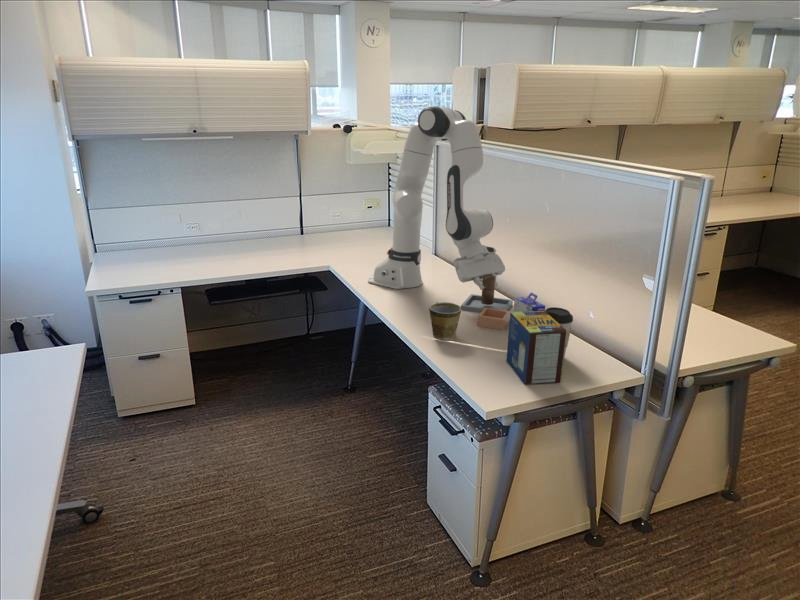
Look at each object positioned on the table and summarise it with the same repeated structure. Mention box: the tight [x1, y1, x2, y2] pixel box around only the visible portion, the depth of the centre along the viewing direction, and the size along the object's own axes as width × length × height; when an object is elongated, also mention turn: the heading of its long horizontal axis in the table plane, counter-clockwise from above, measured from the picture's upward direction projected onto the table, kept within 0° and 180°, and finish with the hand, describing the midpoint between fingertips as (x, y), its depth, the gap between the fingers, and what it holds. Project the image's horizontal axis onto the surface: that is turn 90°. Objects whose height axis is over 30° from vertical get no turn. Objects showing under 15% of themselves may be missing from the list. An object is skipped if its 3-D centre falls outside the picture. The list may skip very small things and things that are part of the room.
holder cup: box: [477, 308, 511, 331], centre depth 193 cm, size 9×9×4 cm
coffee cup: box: [545, 306, 574, 361], centre depth 167 cm, size 9×9×15 cm
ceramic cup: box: [428, 301, 462, 342], centre depth 182 cm, size 13×10×10 cm
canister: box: [481, 275, 496, 305], centre depth 206 cm, size 4×4×10 cm
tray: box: [460, 293, 514, 314], centre depth 208 cm, size 16×14×2 cm
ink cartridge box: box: [512, 292, 546, 312], centre depth 181 cm, size 10×6×14 cm, turn 24°
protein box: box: [505, 310, 567, 386], centre depth 158 cm, size 10×15×16 cm
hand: (489, 287), depth 205 cm, fingers closed on canister, 4 cm apart
